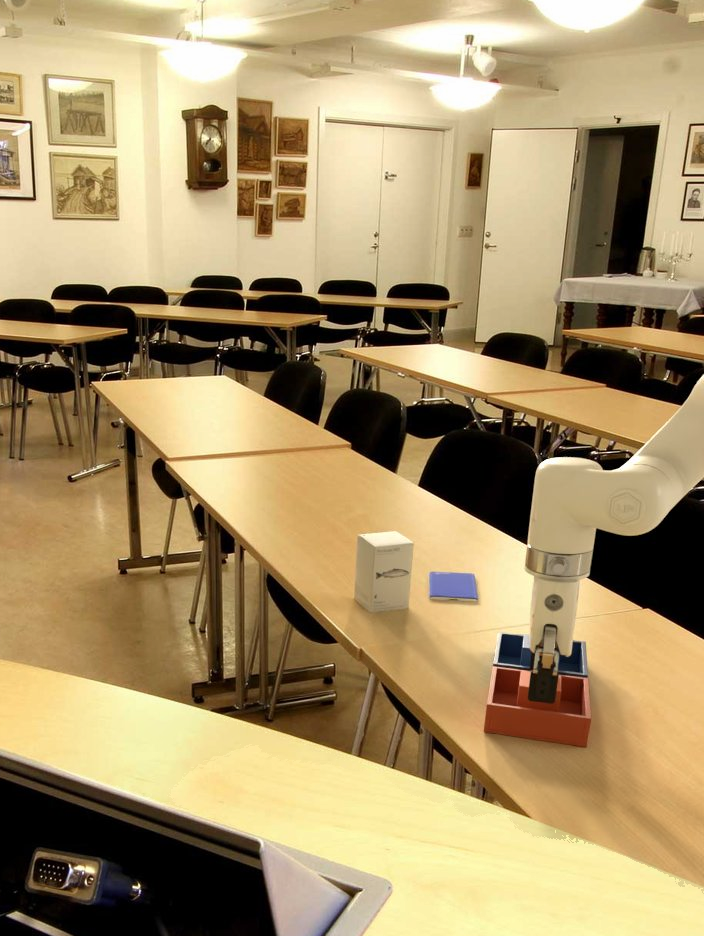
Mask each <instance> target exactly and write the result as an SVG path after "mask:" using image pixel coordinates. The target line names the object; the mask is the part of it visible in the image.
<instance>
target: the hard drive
mask: <svg viewBox="0 0 704 936" xmlns="http://www.w3.org/2000/svg"><path fill="white" fill-rule="evenodd" d="M428 599H429V600H442V601H454V600H455V601H461V602H476V603H477V602H479V597H478V589H477V583H476V576H475V574H474V573H471V572H452V571H451V572H450V571H429V572H428Z"/></svg>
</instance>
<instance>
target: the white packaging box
mask: <svg viewBox="0 0 704 936" xmlns="http://www.w3.org/2000/svg"><path fill="white" fill-rule="evenodd" d="M414 545H415V543H414V541H412V540H411V539H409V538H408V537H406V536H404V535H403V534H401V533H399V532H398V531H396V530H394V531H384V532H373V533H363V534H357V536H356V551H355V552H356V553H355V571H354V572H355V573H354V588H353V589H354V592H353V599H354V600H355V601H356V602H357V603H358V604H359V605H360V606H361V607H363V609H365V610H366V611H367V613H368V612H369V613H370V614H371V613H372V614H373V613H380V612H388V611H397V610H405V609H409V608H410V596H411V595H410V593H411V581H412V568H413V558H414V557H413V556H414Z"/></svg>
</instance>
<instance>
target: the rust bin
mask: <svg viewBox="0 0 704 936" xmlns="http://www.w3.org/2000/svg"><path fill="white" fill-rule="evenodd" d="M522 671H527V670H522ZM530 672H531V671H530ZM520 673H521V670H519V669H511V668H503V667H495V666H493V665H492V669H491V676H490V680H489V688H488V695H487V702H486V709H485V716H484V725H483V732H484V733H487V734H489V733H490V734H496V735H502V736H509V737H515V738H516V737H517V738H523V739H528V740H529V739H530V740H536V741H542V742H548V743H556V744H562V745H570V746H576V747H583V748H587V747H588V741H589V734H590V728H591V722H592V713H591V712H592V711H591V699H590V698H591V697H590V695H591V694H590V683H589V677H588V678H583V677H575V676H567V675H561V697H560V703H559V710H558V712H553V711H545V710H538V709H531V708H524V707H517V706H516V704H517V696H518V688H519V681H520Z"/></svg>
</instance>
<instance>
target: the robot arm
mask: <svg viewBox="0 0 704 936" xmlns="http://www.w3.org/2000/svg"><path fill="white" fill-rule="evenodd" d="M703 479H704V374H702V375H701V377H700V378H699V379H698V380H697V381H696V384H695V385H694V386H693V388H692V390H691V392H690V394H689V396H688V397H687V399H686V400H685V401H684V402H683V404H682V405H681V406H680V407H679V409H677V411H675V413H674V414H673V415H672V416H671V417H670V418H669V419H668V421H666V422H665V424H664V425H662V427H661V428H660V429H658V430H657V432H655V433H654V435H653V436H652V437H651V438H650V439H649V440H647V442H646V443H645V444H644V445H643V446H642V447H641V448H640V449H638V451H637V452H636V453H635V454H634V455H633V456H632V457H631V458H630V459H629V460H627V461H626V462H625V463H624V464H623V465H621V466H620V467H619V468H616V469H612V470H605V469H603V467H602V466H601V464H599V463H598V462H597V461H594V460H591V459H587V458H583V457H574V456H573V457H571V456H569V457H568V456H563V457H562V456H561V457H551V458H548V459H545V460H544V461H542V462H541V463H539V465H538V466H537V468H536V471H535V476H534V483H533V492H532V500H531V509H530V515H529V526H528V535H527V544H526V550H525V551H526V552H525V559H524V567H523V568H524V570H525V572H526V573H527V574H529V575H530V576H533V581H532V590H531V598H530V608H529V609H530V610H529V635H530V650H531V651H532V652H531V660H530V669H531V674H530V682H529V690H528V700H529V701H534V702H542V703H550V704H553V703H554V702H555V698H556V691H557V683H558V676H559V673H557V670H558V660H559V654H560V653H561V655H565V656H566V657H568V656H570V655H571V652H572V643H573V640H574V634H575V626H576V620H577V611H578V610H577V609H578V604H579V594H580V581H581V580H584V579H586V578H588V577H590V574H591V567H592V560H593V553H594V545H595V539H596V532H597V529H598V530H601V531H604V532H607V533H611V534H615V535H620V536H627V537H628V536H629V537H630V536H631V537H632V536H639V535H643V534H646V533H649V532H650V531H652V530H653V529H655V528H656V527H658V526H659V524H661V522H662V521H663V520H664V518H666V516H667V515H668V514H669V512H670V511H671V510H672V509H673V508H674V507H675V506H677V504H678V503H679V502H680V501H681V500H682V499H683V498H684V497H685V496H687V494H688V493H689V492H690V491H691V490H692V489H693V488H694V487H696V485H698V483H700V481H702V480H703ZM559 650H560V652H559Z"/></svg>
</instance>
